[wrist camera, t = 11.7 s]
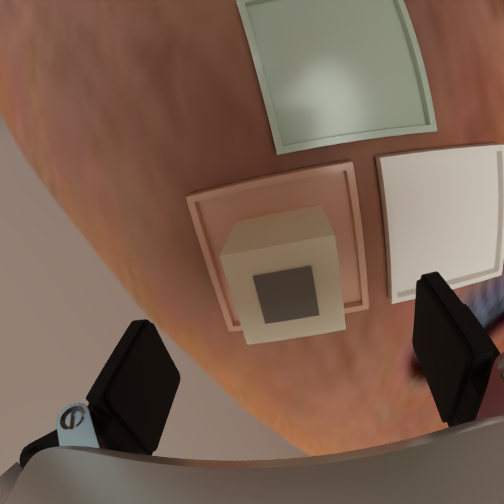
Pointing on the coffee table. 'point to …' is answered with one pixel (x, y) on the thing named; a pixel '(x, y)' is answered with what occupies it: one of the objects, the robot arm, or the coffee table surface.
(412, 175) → the dish offwhite
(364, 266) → the dish terracotta
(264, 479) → the robot arm
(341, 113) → the dish sage
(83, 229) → the coffee table surface
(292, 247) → the cream cube
